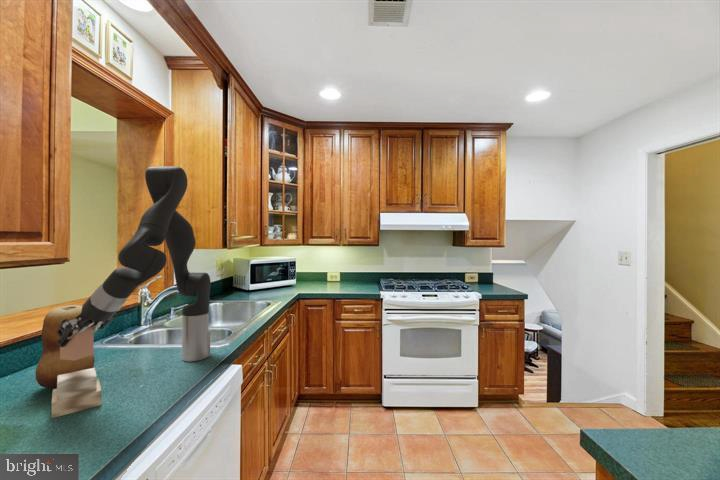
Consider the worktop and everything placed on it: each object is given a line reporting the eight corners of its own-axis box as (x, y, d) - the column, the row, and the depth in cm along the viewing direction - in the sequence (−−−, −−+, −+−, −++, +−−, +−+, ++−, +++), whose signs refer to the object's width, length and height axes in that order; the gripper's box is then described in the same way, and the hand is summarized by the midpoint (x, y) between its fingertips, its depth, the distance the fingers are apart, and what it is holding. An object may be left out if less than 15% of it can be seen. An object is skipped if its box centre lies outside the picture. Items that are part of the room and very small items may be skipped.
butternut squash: (61, 398, 92) (61, 312, 92) (23, 394, 94) (23, 310, 94) (106, 377, 106) (106, 302, 106) (71, 375, 108) (72, 301, 108)
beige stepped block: (98, 392, 96) (98, 365, 96) (101, 404, 89) (101, 376, 89) (52, 403, 89) (52, 375, 89) (51, 418, 82) (51, 387, 82)
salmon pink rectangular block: (79, 353, 92) (79, 321, 92) (93, 354, 91) (93, 322, 91) (60, 359, 87) (60, 326, 87) (74, 360, 86) (74, 327, 86)
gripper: (123, 286, 95) (90, 325, 97) (71, 294, 81) (33, 339, 83) (138, 305, 94) (104, 343, 96) (87, 316, 79) (49, 361, 82)
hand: (71, 341), depth 89 cm, fingers closed on salmon pink rectangular block, 5 cm apart
